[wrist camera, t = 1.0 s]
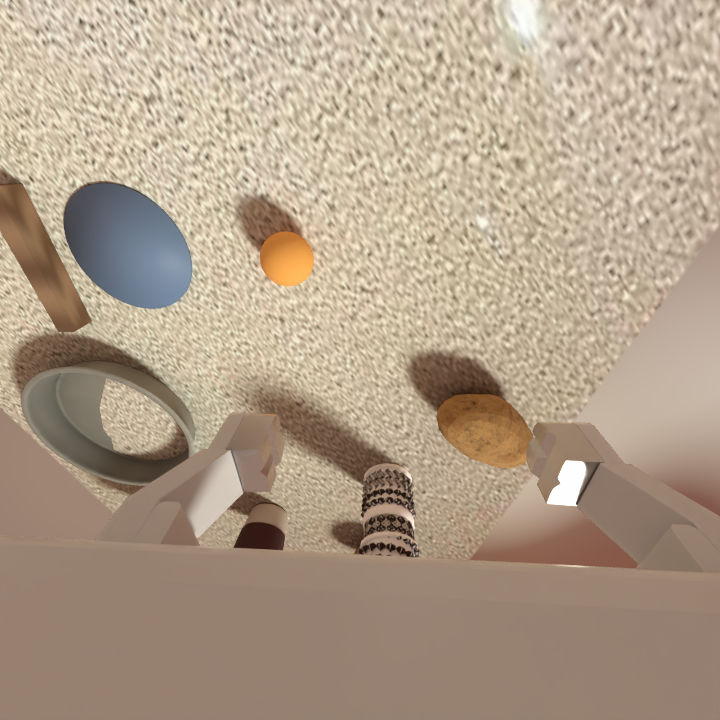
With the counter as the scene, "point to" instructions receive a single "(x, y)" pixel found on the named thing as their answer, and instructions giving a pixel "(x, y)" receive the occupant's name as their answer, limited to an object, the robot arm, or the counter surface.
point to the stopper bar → (40, 259)
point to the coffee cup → (263, 528)
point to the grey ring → (97, 419)
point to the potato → (485, 429)
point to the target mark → (128, 245)
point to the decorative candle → (388, 512)
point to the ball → (286, 258)
